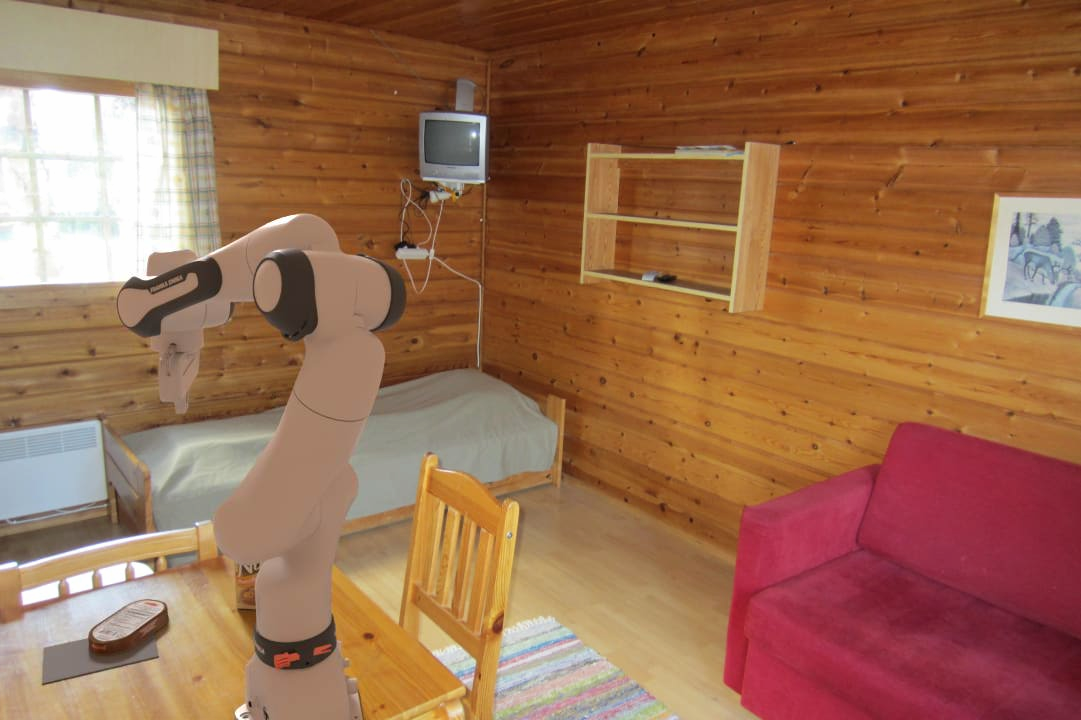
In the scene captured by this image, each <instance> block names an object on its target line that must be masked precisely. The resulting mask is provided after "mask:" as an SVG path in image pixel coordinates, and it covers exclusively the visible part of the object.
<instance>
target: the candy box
mask: <svg viewBox="0 0 1081 720" xmlns="http://www.w3.org/2000/svg"><path fill="white" fill-rule="evenodd" d="M263 563H264V562H261V563H257V564H254V565H249V566H246V565H240V564H237V563H235V562H234V581H235V603H236V604H235V606H236V609H243V610H246V609H247V610H256V599H255V581H256V577H257V574H258V572H259V570H260V568H261V566H262V564H263Z"/></svg>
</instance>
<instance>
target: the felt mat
mask: <svg viewBox="0 0 1081 720" xmlns="http://www.w3.org/2000/svg"><path fill="white" fill-rule="evenodd" d="M155 634H156V632H154V633H153V634H152V635H150V636H149V637H147V638H146V639H145V640H143V641H142V642H141V643H139V644H138V645H137V646H135V647H134V648H132V649H130V650H128V651H126V652H123V653H120V654H116V655H109V656H101V655H96V654H93V653H91V652H90V651H89V648H88V646H89V641H88V637H87V638H83V639H82V638H81V639H77V640H74V641H67V642H64V643H60V644H59V643H58V644H55V645H50V646H46V647H45V646H44V647H43V660H42V675H41V676H42V679H41V685H46V684H50V683H54V682H58V681H62V680H68V679H72V678H75V677H80V676H84V675H88V674H93V673H97V672H101V671H105V670H109V669H110V670H111V669H113V668H118V667H122V666H127V665H131V664H135V663H138V662H143V661H147V660H152V659H156V658H159V655H160V654H159V650H158V645H157V638H156V635H155Z"/></svg>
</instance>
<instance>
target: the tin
mask: <svg viewBox="0 0 1081 720" xmlns="http://www.w3.org/2000/svg"><path fill="white" fill-rule="evenodd" d="M169 619H170V617H169V611H168V605H167V603H166V602H165V601H162V600H159V599H151V598H150V599H149V598H146V599H145V598H144V599H138V600H135V601H133V602H129V603H128V604H126V605H124V606H122V607H121V608H119V609H118V610H117V611H116V612H113V613H112V614H110V615H109V616H107V617H106V618H105V619H103V620H102V621H100V622H98V623H97V624H96V625H94V626H93V627H91V628H90V630H89V632H88V635H87V638H88V641H89V646H88V648H89V651H90V652H91V653H93V654H96V655H101V656H109V655H116V654H120V653H123V652H126V651H128V650H130V649H132V648H134V647H135V646H137V645H138V644H139V643H141V642H142V641H143V640H145V639H146V638H147V637H149V636H150V635H152V634H153V633H154V632H155V633H156V632H157V631H158V630H161V628H163V627H164V626H165V625H166V624H167V623H168V621H169Z"/></svg>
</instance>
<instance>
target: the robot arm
mask: <svg viewBox="0 0 1081 720" xmlns="http://www.w3.org/2000/svg"><path fill="white" fill-rule="evenodd" d="M407 293H408V292H407V287H406V283H405V280H404V278H403V276H402V274H401V273H400V271H399V270H398V269H396V268H395V267H394V266H392V265H390V264H388V263H387V262H384V261H381V260H380V259H377V258H376V257H375V258H374V257H371V256H369V255H367V254H364V253H362V252H360V253H357V254H356V255H354V254H347V253H345V252H343V251H342V250H341V247H340V243H339V239H338V236H337V234H336V232H335V230H334V229H333V227H332V226H331V225H330V223H328V221H326V220H324V219H323V218H322V217H320V216H317V215H314V214H312V213H297V214H292V215H288V216H287V215H286V216H284V217H280V218H278V219H274V220H272V221H270V222H268V223H265V224H264V225H262V226H260V227H258V228H256V229H255V230H252V231H251V232H249V233H248V234H245V235H244V236H242V237H240V238H238V239H236V240H234V241H233V242H231V243H229V244H227V245H225V246H223V247H221V248H218V249H216V250H214V251H212V252H210V253H208V254H206V255H204V256H202V257H200V258H198V256H197V254H196V253H195V251H193V250H191V249H188V248H176V249H175V248H174V249H167V250H164V249H162V250H157V251H154V252H152V253H151V254H149V255H148V259H147V265H146V275H140V276H139V275H136V276H135V275H134V276H130V278H129V279H128V280H127V281H126V282H125V283H124V284H123V285H122V287H121V289H120V290H119V291H118V293H117V297H116V310H117V315H118V317H119V320H120V322H121V323H122V325H123V326H124V327H126V328H127V329H128V330H129V331H131V332H132V333H133V334H135V335H137V336H139V338H140V337H141V338H143V339H146V338H147V339H148V338H149V339H150V340H149V341H150V350H151V351H154V352H157V353H158V355H159V356H158V357H159V361H158V367H157V369H158V395H159V399H160V402H162V403H174V412H175V414H177V415H185V414H186V413H187V411H188V409H189V396H190V388H191V387H192V384H193V382H194V381H195V379H196V378H197V376H198V374H199V369H200V356H201V353H200V352H201V349H203V348H204V347H205V342H204V341H205V339H204V329H207V328H208V329H209V328H215V327H219V326H223V325H225V324H226V323H228V322H229V320H230V319H232V318H231V317H232V316H233V314H234V312H235V308H236V303H245V302H247V303H249V302H254V304H255V307H256V308H257V310H258V311H259V312H260V314H261V315H262V317H263V318H264V319H265V320H266V322H267V323H268V324H270V325H271V326H273V327H274V328H275V329H277V330H278V331H279V332H280V334H281V336H282V338H283V339H284V340H286V341H287V342H290V343H293V342H295V343H296V342H299V341H302V340H303V342H304V347H305V355H304V359H303V362H302V365H301V368H300V371H299V372H298V376H297V377H296V379H295V382H294V385H293V387H292V390H291V393H290V395H289V399H288V400H287V404H286V406H285V409H284V411H283V414H282V416H281V418H280V422H279V424H278V426H277V427H276V429H275V432H274V433H273V435H272V437H271V438H270V440H269V442H268V443H267V445H266V446H265V448H264V449H263V451H262V452H261V454H260V455H259V456H258V458H257V460H256V461H255V462H254V464H253V465H252V467H251V468H250V469H249V472H248V473H247V474H246V476H245V477H244V478H243V480H242V481H241V483H239V485H238V487H237V488H236V489H235V490H234V492H232V493H231V494H230V495H229V497H227V498H226V499H225V501H223V502H222V503H221V505H220V506H219V507H217V509H216V511H215V512H214V515H213V518H212V534H213V537H214V541H215V543H216V545H217V547H218V548H219V550H220V552H221V553H222V554H223V555H224V556H225V557H226V558H227V559H229V560H230V561H232V562H233V563H234V564H235V563H237V564H240V565H246V566H249V565H254V564H257V563H261V562H264V563H263V564H262V566H261V568H260V570H259V572H258V574H257V577H256V581H255V599H256V609H255V614H256V615H255V618H256V621H255V624H254V628H253V634H252V635H253V637H252V638H253V644H254V651H255V652H254V653H253V656H252V657H251V658H250V659H249V661H248V662H247V664H246V665H245V667H244V679H245V681H244V683H245V684H244V685H245V686H244V690H245V692H244V695H245V697H244V703H243V704H242V705H241V706H239V707H238V708H237V709H236V710H235V711H234V717H233V719H234V720H364V719H363V718H364V717H363V713H362V706H361V701H360V696H359V690H358V689H359V687H358V680H357V678H356V677H350V674H346V673H345V669H346V668H347V669H348V668H349V667H350V659H349V657H346V658H343V653H342V651H343V649H342V648H343V647H342V646H343V644H342V643H343V642H342V641H341V640H340V639H337V626H336V622H335V616H334V613H332V575H333V567H334V562H335V557H336V553H337V549H338V545H339V541H340V537H341V534H342V531H343V527H344V524H345V522H346V521H345V520H346V518H347V516H348V514H349V511H350V510H351V507H352V505H353V504H354V502H355V501H356V499H357V498H358V497H357V496H358V494H359V486H360V485H359V478H358V474H357V473H356V470H355V468H354V467H353V466H352V464H351V463H350V462H349V461H350V460H351V458H352V457H353V454H354V452H355V449H356V448H357V445H358V443H359V442H360V438H361V436H362V434H363V431H364V428H365V426H366V424H367V421H368V419H369V417H370V414H371V411H372V409H373V407H374V404H375V402H376V398H377V395H378V392H379V389H380V385H381V382H382V377H383V373H384V367H385V362H386V352H385V348H384V345H383V343H382V341H381V340H380V338H379V337H378V336H377V335H375V334H374V333H375V332H380V331H384V330H387V329H390V328H392V327H394V326H395V325H397V323H398V322H399V321H400V320H401V319H402V316H403V314H404V312H405V310H406V306H407V298H408V296H407V295H408V294H407Z"/></svg>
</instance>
